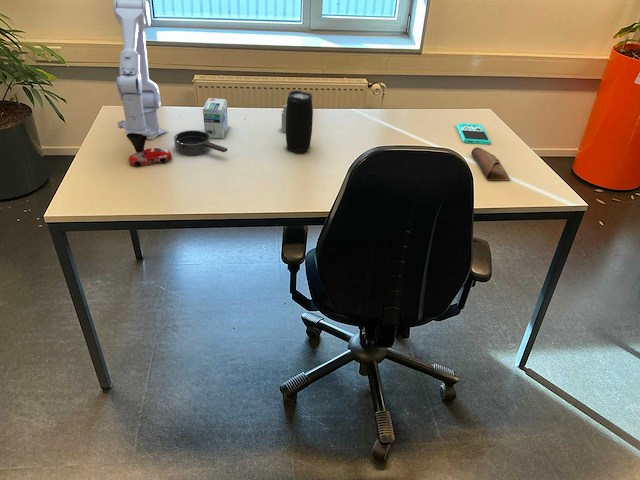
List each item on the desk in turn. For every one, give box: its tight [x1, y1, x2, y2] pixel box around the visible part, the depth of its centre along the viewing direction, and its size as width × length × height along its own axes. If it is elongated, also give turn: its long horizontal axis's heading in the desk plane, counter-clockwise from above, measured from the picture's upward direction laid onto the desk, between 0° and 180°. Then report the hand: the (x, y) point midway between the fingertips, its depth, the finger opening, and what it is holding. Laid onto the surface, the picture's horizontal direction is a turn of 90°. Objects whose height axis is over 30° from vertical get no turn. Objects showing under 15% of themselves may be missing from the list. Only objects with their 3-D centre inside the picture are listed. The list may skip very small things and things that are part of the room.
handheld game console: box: [456, 122, 491, 145], centre depth 200 cm, size 10×16×1 cm, turn 178°
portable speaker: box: [284, 90, 314, 155], centre depth 176 cm, size 9×9×20 cm
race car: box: [128, 147, 173, 168], centre depth 167 cm, size 13×5×4 cm, turn 112°
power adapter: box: [280, 101, 287, 133], centre depth 190 cm, size 3×5×12 cm, turn 92°
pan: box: [173, 129, 211, 156], centre depth 176 cm, size 12×12×4 cm
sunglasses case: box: [470, 146, 510, 182], centre depth 177 cm, size 18×7×7 cm
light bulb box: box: [202, 97, 229, 139], centre depth 186 cm, size 11×7×11 cm, turn 179°
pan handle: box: [204, 141, 228, 153], centre depth 172 cm, size 8×2×1 cm, turn 60°
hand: (140, 153), depth 169 cm, fingers closed
